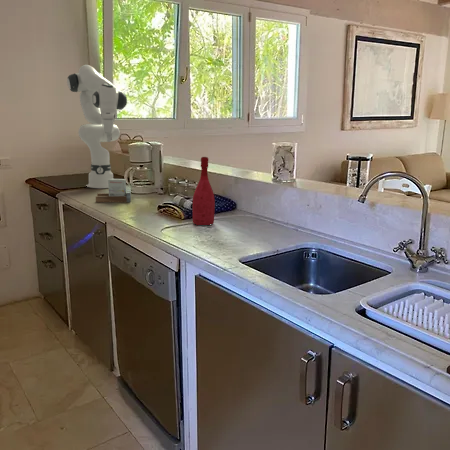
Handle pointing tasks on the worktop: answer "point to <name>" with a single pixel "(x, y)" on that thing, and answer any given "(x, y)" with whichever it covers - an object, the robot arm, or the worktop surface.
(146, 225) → the worktop surface
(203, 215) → the wine bottle
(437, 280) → the worktop surface
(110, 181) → the ink box
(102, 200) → the guide channel
